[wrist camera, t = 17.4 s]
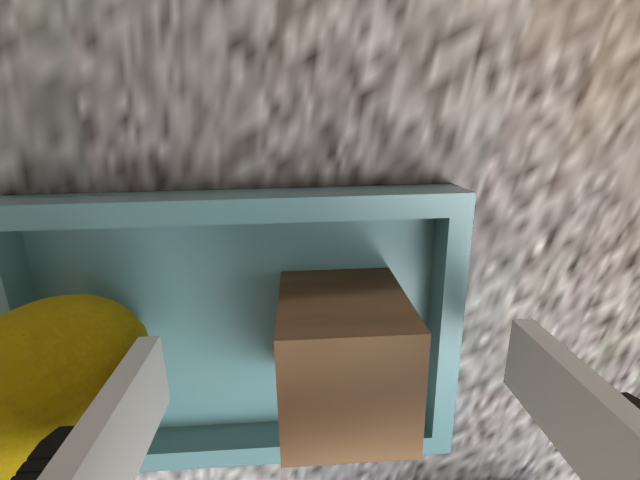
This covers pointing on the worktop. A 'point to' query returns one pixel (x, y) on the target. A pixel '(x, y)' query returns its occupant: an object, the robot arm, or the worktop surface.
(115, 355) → the lemon
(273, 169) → the worktop surface
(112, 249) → the tray
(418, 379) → the walnut block
